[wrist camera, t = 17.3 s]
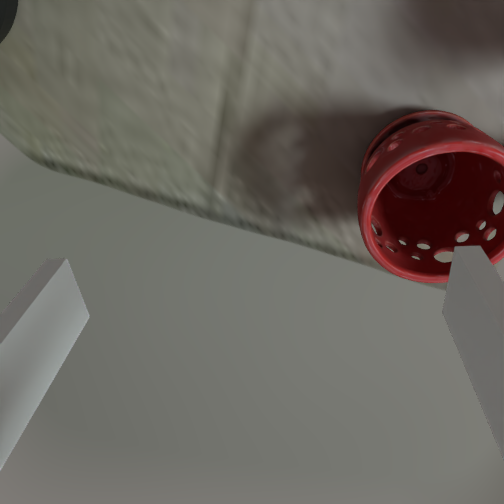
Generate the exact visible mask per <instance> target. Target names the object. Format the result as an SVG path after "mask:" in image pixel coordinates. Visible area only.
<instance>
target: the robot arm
mask: <svg viewBox="0 0 504 504" xmlns="http://www.w3.org/2000/svg"><path fill="white" fill-rule="evenodd" d="M17 6H18V0H0V43H1V42H2V41H3V39H4V38H5V37H6V36H7V34H8V33H9V31H10V29H11V27H12V25H13V22H14V19H15V16H16V12H17ZM442 312H443V315H444V317H445V320H446V322H447V325H448V327H449V330H450V332H451V334H452V337H453V339H454V342H455V344H456V346H457V349H458V351H459V353H460V356H461V358H462V361H463V363H464V366H465V368H466V370H467V373H468V375H469V378H470V380H471V383H472V385H473V387H474V390H475V392H476V395H477V397H478V399H479V402H480V404H481V407H482V409H483V411H484V414H485V416H486V419H487V421H488V424H489V426H490V428H491V431H492V433H493V436H494V438H495V440H496V443H497V445H498V447H499V450H500V452H501V455H502V457H503V460H504V282H503V280H502V279H501V277H500V276H499V274H498V272H497V271H496V269H495V268H494V266H493V265H492V263H491V262H490V260H489V258H488V257H487V255H486V254H485V252H484V251H483V249H482V248H481V246H455V248H454V254H453V259H452V264H451V269H450V274H449V280H448V285H447V290H446V295H445V300H444V306H443V311H442ZM89 317H90V316H89V313H88V311H87V308H86V306H85V303H84V301H83V298H82V296H81V293H80V290H79V288H78V285H77V283H76V280H75V278H74V275H73V272H72V270H71V267H70V265H69V262H68V260H67V258H55V259H46V260H45V262H44V263H43V264H42V265H41V266H40V267H39V269H38V270H37V271H36V272H35V273H34V275H33V276H32V277H31V278H30V279H29V281H28V282H27V283H26V284H25V285H24V286H23V288H22V289H21V290H20V291H19V292H18V294H17V295H16V296H15V297H14V298H13V300H12V301H11V302H10V303H9V304H8V306H7V307H6V308H5V309H4V310H3V312H2V313H1V314H0V470H1V469H2V467H3V465H4V464H5V462H6V460H7V458H8V457H9V455H10V453H11V451H12V450H13V448H14V446H15V445H16V443H17V441H18V439H19V438H20V436H21V434H22V432H23V431H24V429H25V427H26V426H27V424H28V422H29V420H30V419H31V417H32V415H33V413H34V412H35V410H36V408H37V407H38V405H39V403H40V402H41V400H42V398H43V396H44V394H45V393H46V391H47V389H48V388H49V386H50V384H51V383H52V381H53V379H54V377H55V376H56V374H57V372H58V370H59V369H60V367H61V365H62V364H63V362H64V360H65V358H66V357H67V355H68V353H69V352H70V350H71V348H72V346H73V345H74V343H75V341H76V339H77V338H78V336H79V334H80V332H81V331H82V329H83V327H84V325H85V324H86V322H87V320H88V319H89Z"/></svg>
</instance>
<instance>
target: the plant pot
mask: <svg viewBox="0 0 504 504" xmlns="http://www.w3.org/2000/svg"><path fill="white" fill-rule="evenodd" d="M500 175H501V177H500ZM499 191H501V192H502V193H503V194H504V147H503V146H502V145H501V144H500V143H498V142H497V141H495V140H494V139H493V138H491V137H489V136H488V135H486V134H485V133H484V132H482V131H481V130H479V129H477V128H475V127H474V126H473V125H472V124H470V123H469V122H468V121H467V120H465V119H464V118H462V117H460V116H458V115H455V114H453V113H450V112H445V111H439V110H425V111H419V112H414V113H411V114H408V115H405V116H403V117H401V118H399V119H397V120H395V121H393V122H392V123H390V124H389V125H387V126H386V127H385V128H384V129H383V130H382V131H380V133H379V134H378V135H377V136H376V137H375V138H374V139H373V141H372V142H371V144H370V145H369V147H368V149H367V151H366V153H365V155H364V159H363V162H362V167H361V181H360V185H359V190H358V204H357V207H358V220H359V226H360V231H361V235H362V238H363V241H364V244H365V246H366V248H367V249H368V251H369V253H370V254H371V255H372V257H373V258H374V259H375V260H376V261H377V262H378V263H379V264H380V265H381V266H382V267H384V268H385V269H386V270H388V271H389V272H391V273H393V274H395V275H397V276H399V277H402V278H405V279H408V280H412V281H417V282H424V283H443V282H448V280H449V274H450V269H451V264H452V262H446V263H443V262H440V261H438V260H436V259H435V258H434V256H435V255H436V254H438V253H441V252H447V251H449V252H454V248H455V246H481V248H482V249H483V251H484V252H485V254H486V255H487V257H488V258H489V260H490V262H491V263H492V265H494V264H496V263H497V262H498V261H500V260H501V259H502V258H503V257H504V205H503V207H502V210H501V212H500V213H498V214H496V215H495V214H494V212H493V202H494V199H495V197H496V195H497V193H498V192H499ZM484 221H486V226H485V227H484V228H483V229H482V230H479V227H480V225H481V224H482V223H483V222H484ZM371 222H372V224H373V225H374V227H375V229H376V232H377V234H376V233H375V232H374V230H373V228H372V226H371ZM495 229H496V235H495V237H494V238H493V239H491V240H488V241H487V238H488V236H489V234H490V233H491V232H492V231H493V230H495ZM463 234H469V237H468V239H467V240H466V241H464V242H457V239H458V237H460V236H461V235H463ZM399 240H401V241H403V242H405V243H406V245H403V244H401V243H400V242H399ZM417 244H427V245H429V246H430V249H421V248H418V247H417ZM386 246H387V247H389V248H390V249H392V250H393V251H394V252H392V251H391V250H390V249H388V248H387V247H386ZM411 256H416V257H418V258H420V260H418V259H414V258H412V257H411Z"/></svg>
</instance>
